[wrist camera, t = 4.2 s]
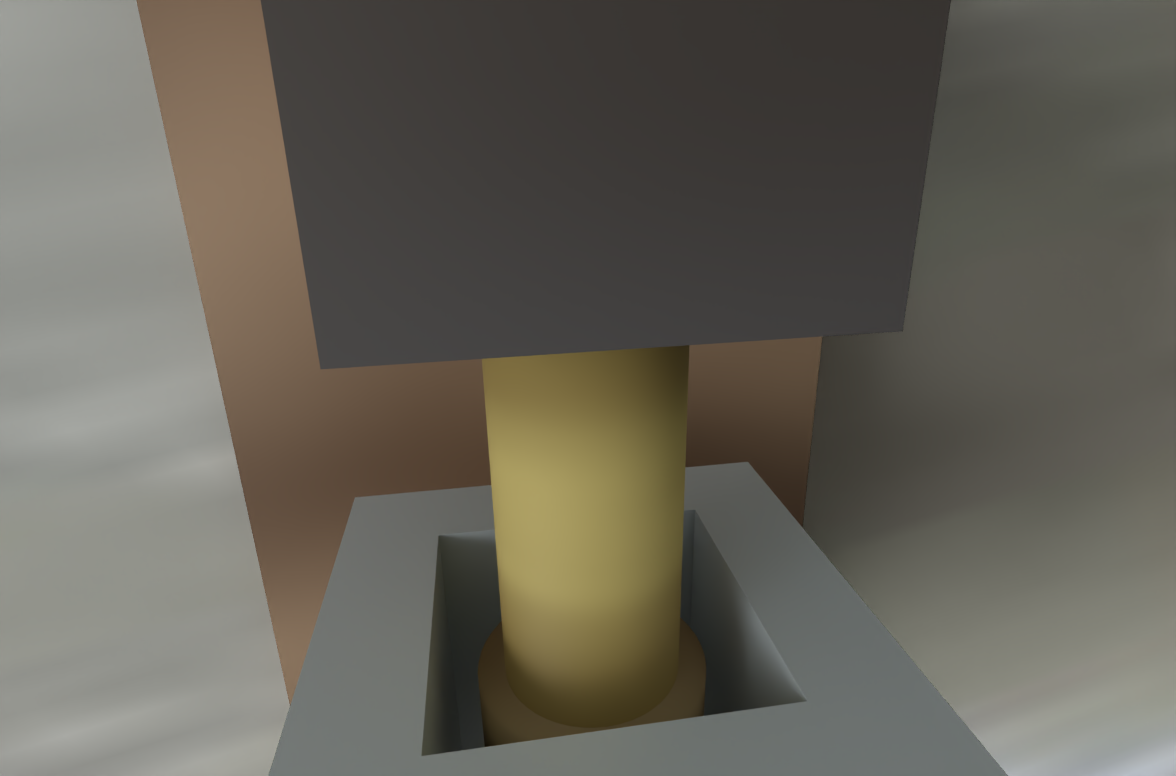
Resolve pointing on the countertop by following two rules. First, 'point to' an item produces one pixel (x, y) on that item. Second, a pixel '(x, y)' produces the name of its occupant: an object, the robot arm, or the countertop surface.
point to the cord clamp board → (539, 285)
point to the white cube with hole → (630, 754)
